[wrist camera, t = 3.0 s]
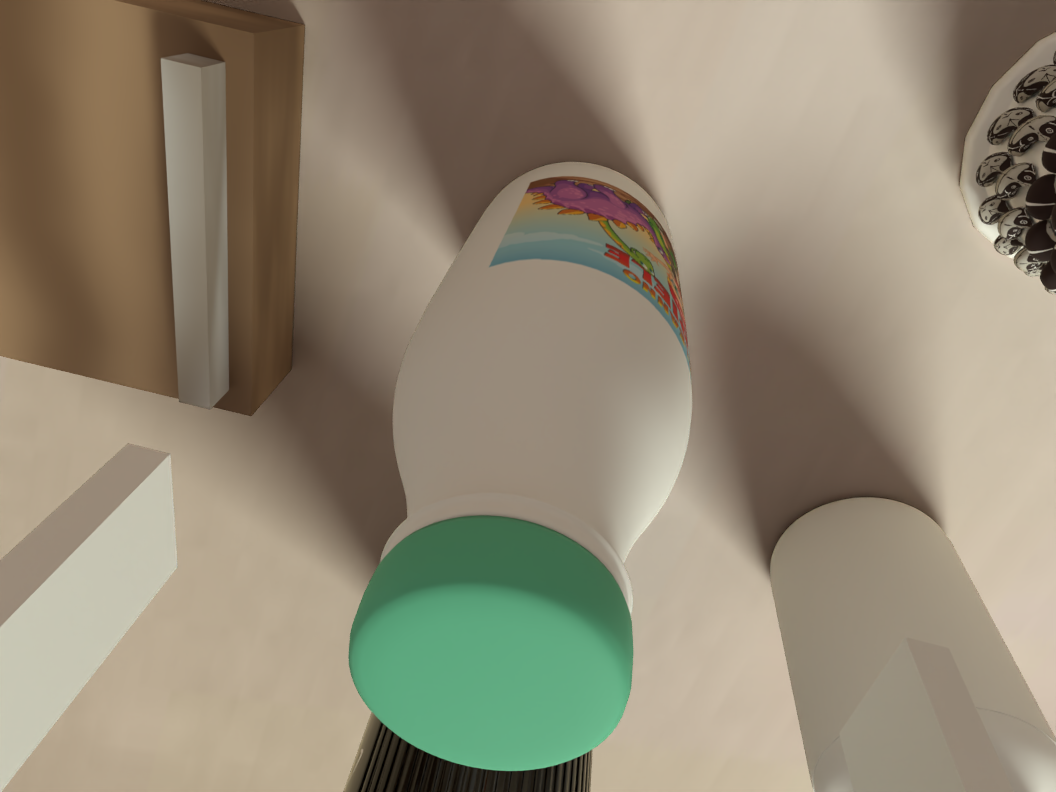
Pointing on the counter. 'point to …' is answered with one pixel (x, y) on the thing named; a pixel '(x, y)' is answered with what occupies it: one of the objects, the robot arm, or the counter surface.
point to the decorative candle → (1017, 164)
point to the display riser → (150, 194)
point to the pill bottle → (892, 631)
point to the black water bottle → (449, 770)
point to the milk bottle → (529, 476)
